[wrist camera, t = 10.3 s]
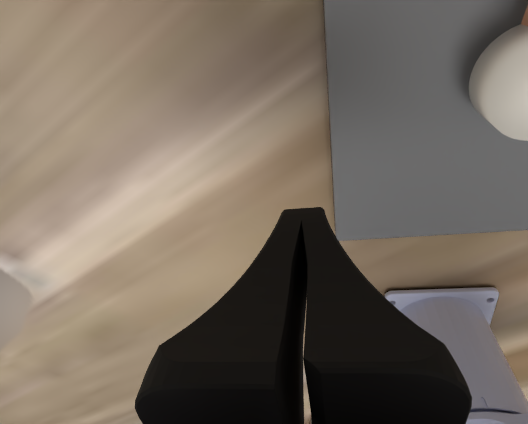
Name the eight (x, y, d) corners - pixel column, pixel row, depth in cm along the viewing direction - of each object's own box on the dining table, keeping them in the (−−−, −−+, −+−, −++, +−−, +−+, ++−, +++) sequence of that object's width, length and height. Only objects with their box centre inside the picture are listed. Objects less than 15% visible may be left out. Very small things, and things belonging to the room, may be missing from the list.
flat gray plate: (613, 212, 22) (641, 234, 21) (335, 229, 25) (337, 250, 23) (862, -311, 11) (966, -361, 10) (314, -178, 14) (315, -198, 12)
